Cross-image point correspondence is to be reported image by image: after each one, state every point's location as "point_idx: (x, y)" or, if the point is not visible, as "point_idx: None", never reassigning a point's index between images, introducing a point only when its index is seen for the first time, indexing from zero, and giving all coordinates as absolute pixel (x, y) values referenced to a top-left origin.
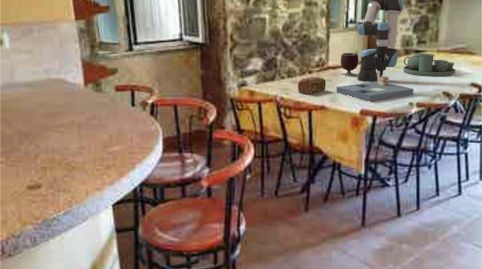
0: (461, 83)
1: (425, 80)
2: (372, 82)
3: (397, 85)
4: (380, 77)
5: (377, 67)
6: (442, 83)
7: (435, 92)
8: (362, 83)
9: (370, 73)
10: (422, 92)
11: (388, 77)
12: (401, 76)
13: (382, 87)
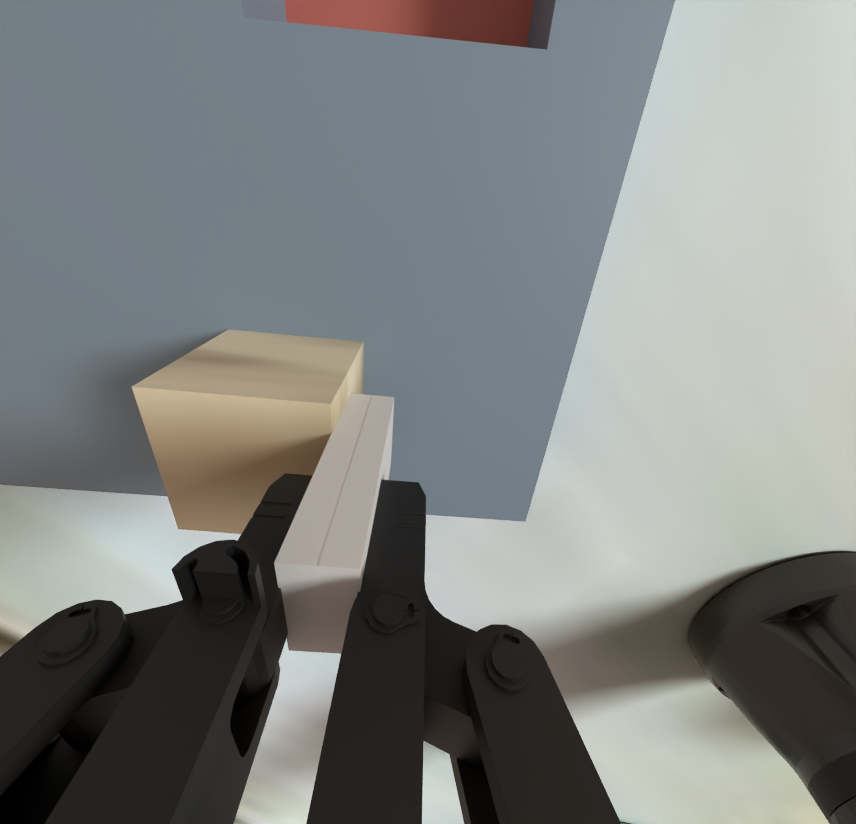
0: (253, 804)
1: (423, 777)
2: (529, 391)
3: (143, 488)
4: (253, 406)
5: (401, 730)
6: (300, 774)
7: (37, 618)
8: (625, 137)
9: (811, 685)
10: (59, 561)
11: (181, 525)
12: (609, 779)
13: (29, 146)
